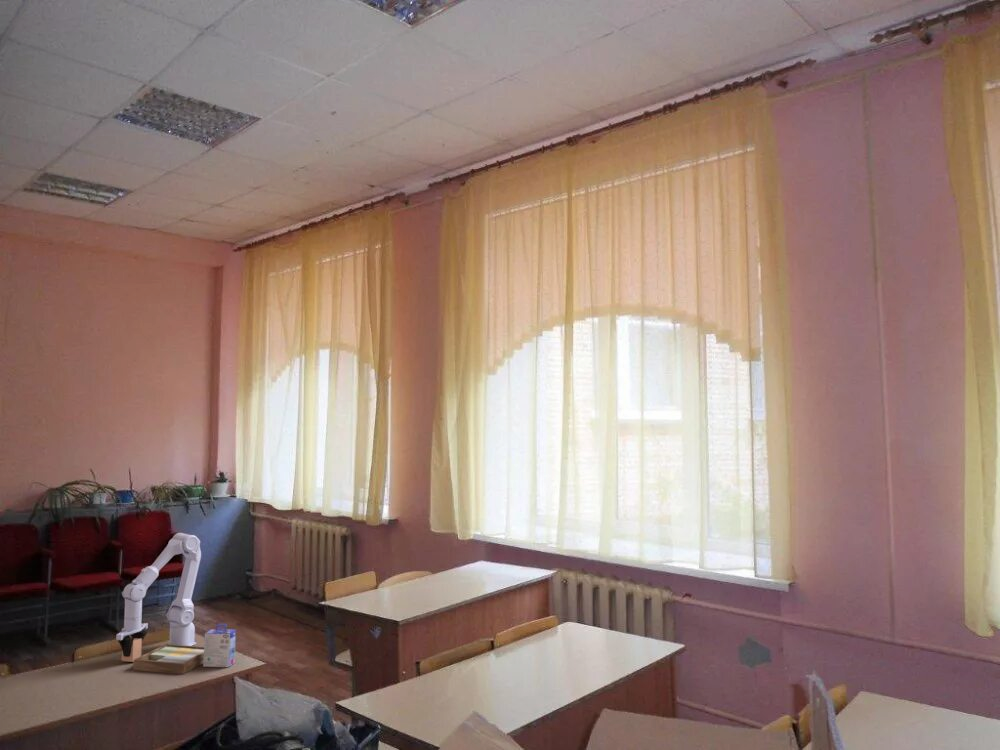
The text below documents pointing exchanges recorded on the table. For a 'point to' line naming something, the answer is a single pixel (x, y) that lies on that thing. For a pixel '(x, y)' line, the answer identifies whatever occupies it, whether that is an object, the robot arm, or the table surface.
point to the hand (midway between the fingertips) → (131, 653)
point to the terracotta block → (134, 650)
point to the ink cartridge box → (219, 647)
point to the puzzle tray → (168, 665)
